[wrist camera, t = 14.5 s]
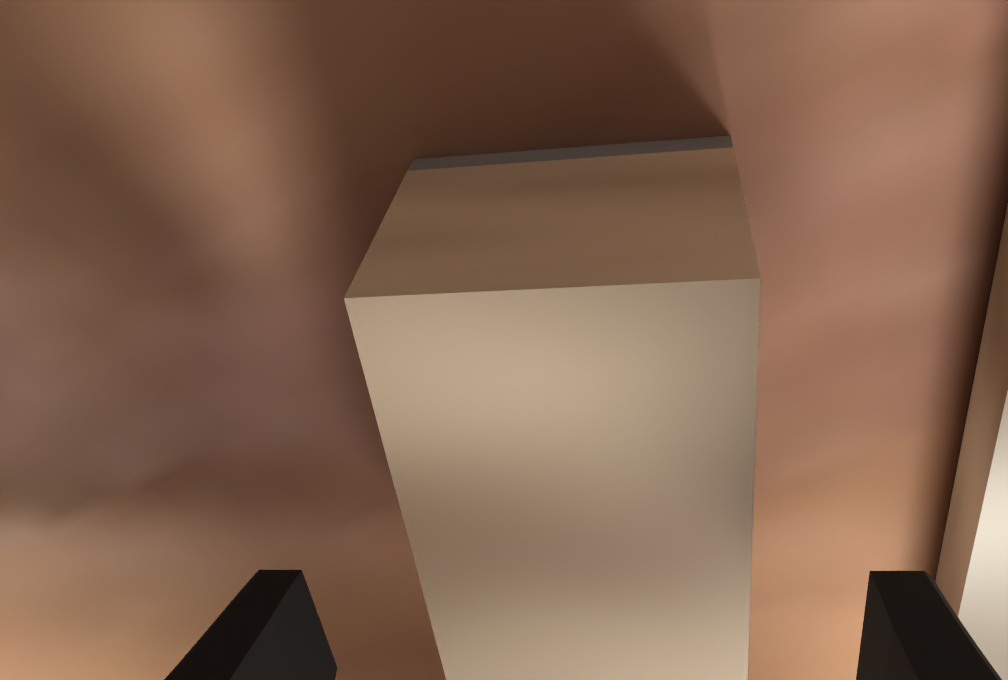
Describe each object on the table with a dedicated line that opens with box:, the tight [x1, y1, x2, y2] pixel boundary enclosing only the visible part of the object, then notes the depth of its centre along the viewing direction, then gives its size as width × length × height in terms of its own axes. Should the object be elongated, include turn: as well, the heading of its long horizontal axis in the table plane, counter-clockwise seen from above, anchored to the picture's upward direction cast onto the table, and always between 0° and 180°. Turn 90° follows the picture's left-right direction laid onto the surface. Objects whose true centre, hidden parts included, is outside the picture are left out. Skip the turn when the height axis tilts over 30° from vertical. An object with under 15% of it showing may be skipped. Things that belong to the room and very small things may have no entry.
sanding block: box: [344, 135, 761, 680], centre depth 14 cm, size 8×4×4 cm, turn 7°
